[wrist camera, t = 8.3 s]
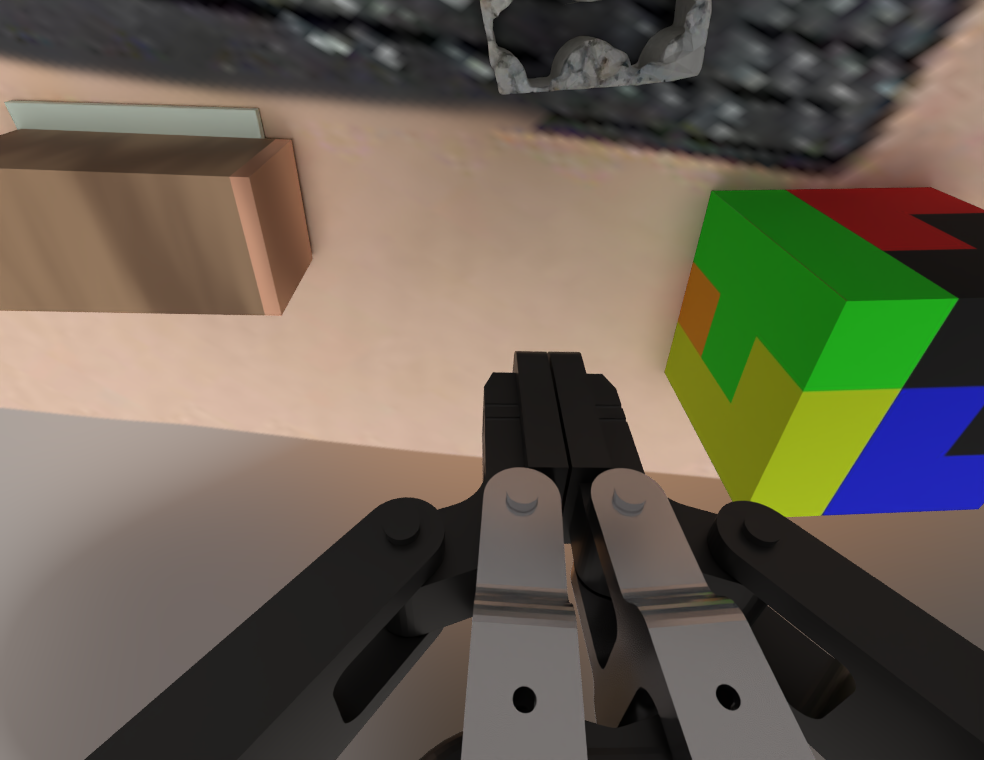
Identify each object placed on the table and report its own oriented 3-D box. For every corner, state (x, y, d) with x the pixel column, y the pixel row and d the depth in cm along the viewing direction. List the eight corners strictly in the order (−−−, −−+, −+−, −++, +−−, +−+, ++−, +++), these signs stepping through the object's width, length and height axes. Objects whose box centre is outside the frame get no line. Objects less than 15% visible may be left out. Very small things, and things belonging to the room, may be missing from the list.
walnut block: (248, 177, 16) (-94, 165, 15) (281, 315, 19) (-3, 310, 18) (291, 139, 20) (21, 128, 19) (312, 259, 23) (79, 253, 22)
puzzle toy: (837, 366, 29) (978, 509, 21) (664, 371, 29) (741, 518, 21) (930, 186, 23) (1179, 293, 15) (711, 190, 22) (847, 301, 14)
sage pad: (258, 108, 20) (255, 110, 19) (294, 275, 24) (292, 278, 23) (11, 100, 19) (4, 102, 19) (94, 272, 23) (89, 276, 23)
